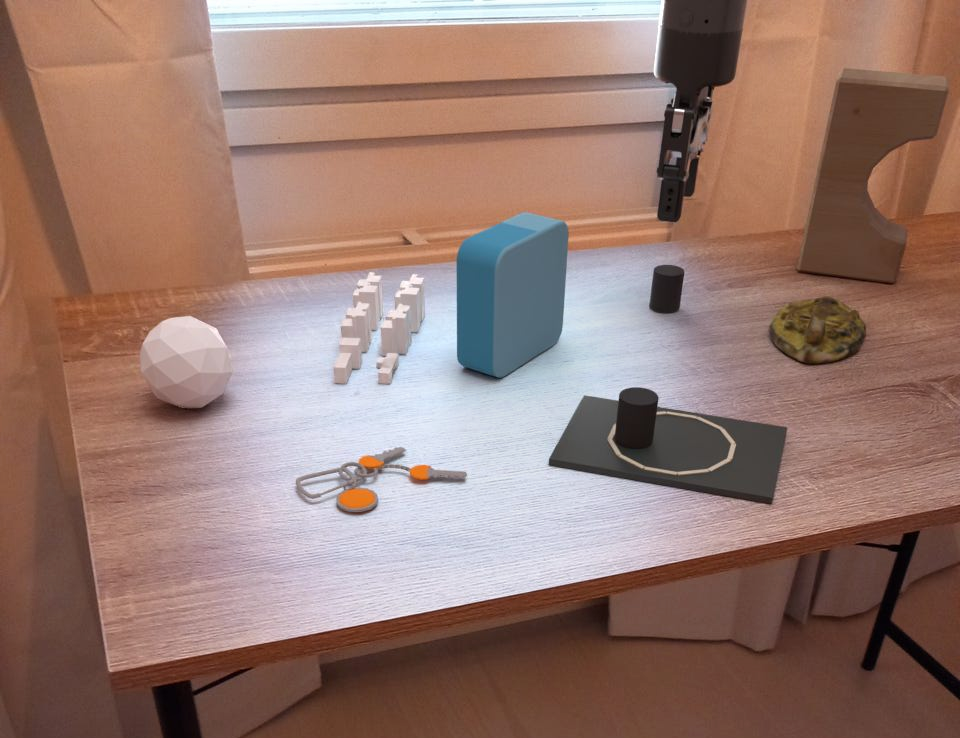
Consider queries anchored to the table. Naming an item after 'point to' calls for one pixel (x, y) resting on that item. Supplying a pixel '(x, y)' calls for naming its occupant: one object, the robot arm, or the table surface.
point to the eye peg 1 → (636, 417)
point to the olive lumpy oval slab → (818, 330)
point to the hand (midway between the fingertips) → (675, 207)
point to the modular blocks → (367, 319)
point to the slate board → (677, 451)
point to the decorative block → (865, 171)
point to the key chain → (365, 497)
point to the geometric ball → (185, 362)
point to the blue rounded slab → (510, 293)
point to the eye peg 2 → (666, 288)
